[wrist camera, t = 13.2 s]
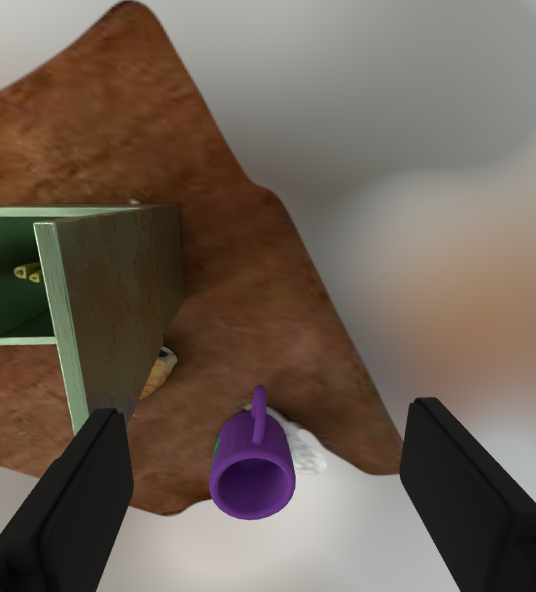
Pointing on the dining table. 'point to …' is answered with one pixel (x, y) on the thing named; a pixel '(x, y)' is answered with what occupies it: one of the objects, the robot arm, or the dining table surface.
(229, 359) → the dining table surface
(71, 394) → the bin lid
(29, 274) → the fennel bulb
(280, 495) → the mug
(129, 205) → the trash bin
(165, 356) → the pastry
